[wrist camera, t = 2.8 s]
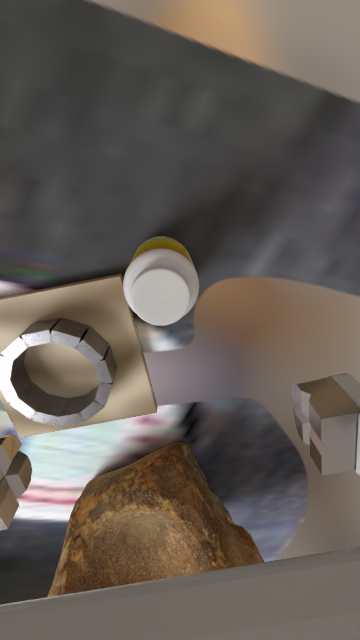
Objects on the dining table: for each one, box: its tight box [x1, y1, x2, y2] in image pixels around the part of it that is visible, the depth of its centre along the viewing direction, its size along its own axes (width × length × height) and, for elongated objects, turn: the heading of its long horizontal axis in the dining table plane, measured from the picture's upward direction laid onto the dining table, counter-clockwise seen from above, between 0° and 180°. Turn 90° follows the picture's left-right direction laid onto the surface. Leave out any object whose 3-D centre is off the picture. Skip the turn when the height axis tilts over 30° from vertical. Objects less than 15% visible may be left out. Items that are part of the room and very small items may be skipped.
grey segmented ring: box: [0, 317, 117, 426], centre depth 30 cm, size 10×10×3 cm
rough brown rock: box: [48, 442, 264, 597], centre depth 33 cm, size 23×17×15 cm
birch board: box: [0, 273, 157, 438], centre depth 32 cm, size 16×16×1 cm
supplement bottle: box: [123, 236, 199, 325], centre depth 25 cm, size 6×6×10 cm
